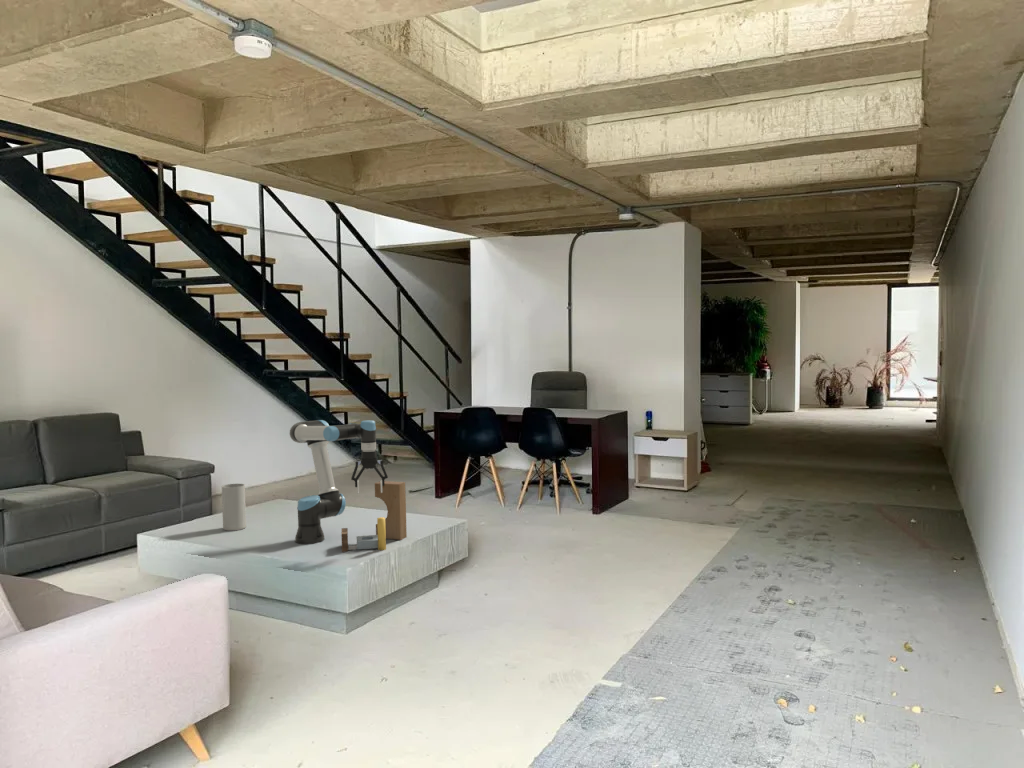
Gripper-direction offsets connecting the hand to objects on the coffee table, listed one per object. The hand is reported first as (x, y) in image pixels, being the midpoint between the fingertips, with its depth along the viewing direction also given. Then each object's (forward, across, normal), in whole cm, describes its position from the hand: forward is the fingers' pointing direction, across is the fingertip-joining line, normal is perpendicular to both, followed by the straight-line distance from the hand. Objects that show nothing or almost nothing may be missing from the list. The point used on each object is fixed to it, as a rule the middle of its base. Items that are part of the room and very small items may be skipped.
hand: (370, 492), depth 394 cm
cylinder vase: (+28, -76, +63) cm, 103 cm away
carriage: (+28, -2, 0) cm, 28 cm away
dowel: (+28, +5, -7) cm, 29 cm away
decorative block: (+28, +11, +16) cm, 34 cm away
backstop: (+28, -13, 0) cm, 31 cm away
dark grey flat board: (+28, -2, 0) cm, 28 cm away
